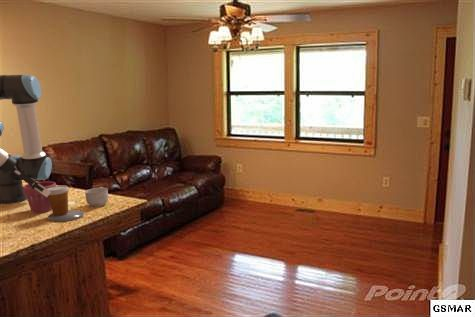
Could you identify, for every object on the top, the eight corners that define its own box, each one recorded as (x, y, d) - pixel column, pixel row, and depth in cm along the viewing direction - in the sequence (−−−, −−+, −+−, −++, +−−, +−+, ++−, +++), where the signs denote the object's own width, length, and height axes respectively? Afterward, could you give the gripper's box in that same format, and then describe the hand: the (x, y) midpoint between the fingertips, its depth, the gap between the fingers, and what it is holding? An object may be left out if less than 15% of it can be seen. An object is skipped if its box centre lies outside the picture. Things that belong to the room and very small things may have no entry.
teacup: (101, 208, 203) (100, 192, 202) (81, 207, 205) (80, 191, 204) (115, 201, 216) (114, 186, 215) (96, 200, 219) (95, 185, 217)
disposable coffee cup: (52, 211, 196) (48, 186, 194) (74, 209, 197) (70, 184, 195) (46, 217, 187) (42, 191, 184) (69, 215, 188) (65, 189, 186)
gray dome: (50, 213, 196) (50, 211, 195) (84, 210, 200) (84, 208, 200) (45, 223, 181) (45, 221, 181) (82, 219, 186) (82, 217, 186)
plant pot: (27, 208, 205) (24, 182, 203) (58, 205, 210) (56, 180, 208) (23, 216, 192) (21, 189, 190) (57, 212, 197) (54, 186, 195)
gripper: (-9, 164, 181) (31, 193, 192) (1, 173, 161) (46, 204, 173) (3, 151, 183) (43, 180, 194) (15, 158, 163) (58, 190, 175)
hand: (44, 191), depth 184 cm, fingers open, 13 cm apart
